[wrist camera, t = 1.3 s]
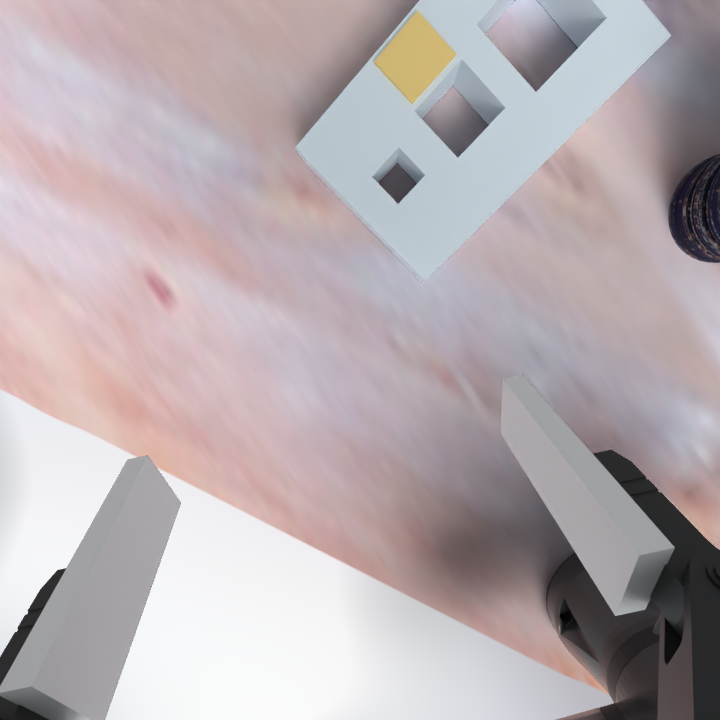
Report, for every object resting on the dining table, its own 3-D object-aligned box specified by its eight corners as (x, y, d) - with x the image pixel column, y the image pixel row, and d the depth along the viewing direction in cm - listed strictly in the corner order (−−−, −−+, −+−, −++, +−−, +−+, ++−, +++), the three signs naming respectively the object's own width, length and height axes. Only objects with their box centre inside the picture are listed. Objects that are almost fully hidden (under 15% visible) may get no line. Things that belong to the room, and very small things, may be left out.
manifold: (636, 66, 33) (674, 32, 28) (420, 282, 37) (425, 281, 33) (513, -80, 31) (533, -138, 27) (304, 163, 36) (294, 146, 32)
